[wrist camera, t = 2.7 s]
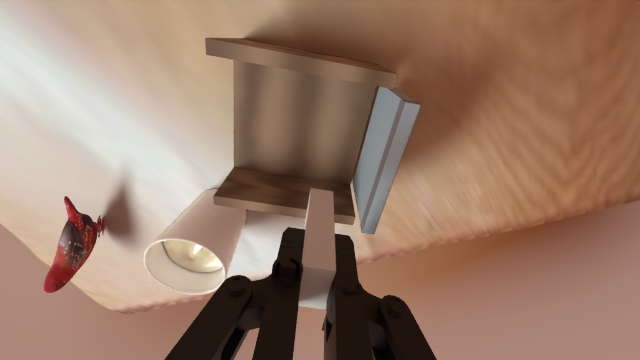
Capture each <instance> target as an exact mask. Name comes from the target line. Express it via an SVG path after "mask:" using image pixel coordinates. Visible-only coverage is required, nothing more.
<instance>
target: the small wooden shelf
mask: <svg viewBox="0 0 640 360" xmlns="http://www.w3.org/2000/svg"><path fill="white" fill-rule="evenodd" d="M205 41H206V55H211V56H217V57H222V58H228V59H233V60H234V168H233V169H232V171H231V172H230V173H229V175H228V176H227V178H226V179H225V180H224V182H223V183H222V184H221V186H220V187H219V189H218V190H217V191H216V193H215V194H214V196H213V200H214V205H219V206H226V207H233V208H239V209H246V210H253V211H260V212H267V213H274V214H280V215H287V216H294V217H301V218H306V213H307V207H308V202H309V196H310V190H311V188H314V189H320V190H327V191H333V201H334V222H335V223H342V224H348V225H353V223H354V220H355V212H354V206H353V200H352V194H351V188H350V184H351V180H352V176H353V173H354V169H355V165H356V161H357V158H358V154H359V150H360V147H361V143H362V139H363V135H364V132H365V128H366V124H367V120H368V117H369V113H370V109H371V105H372V102H373V98H374V94H375V90H376V87H377V86H379V87H384V88H389V89H394V87H395V84H396V81H397V77H398V74H396V73H394V72H392V71H390V70H388V69H386V68H384V67H381V66H379V65H377V64H373V63H367V62H362V61H357V60H352V59H347V58H341V57H336V56H331V55H326V54H320V53H315V52H310V51H305V50H300V49H294V48H289V47H284V46H279V45H273V44H268V43H263V42H258V41H253V40H247V39H242V38H205Z"/></svg>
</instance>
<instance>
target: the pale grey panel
mask: <svg viewBox="0 0 640 360" xmlns="http://www.w3.org/2000/svg"><path fill="white" fill-rule="evenodd" d="M420 107H421V105H420V104H419V103H417V102H415V101H414V100H412V99H411V98H410V97H408V96H407V95H405V94H404V93H402V92H401V91H399V90H398V89H396V88H395V87H394V89H389V88H384V87H379V89H378V93H377V97H376V100H375V104H374V108H373V111H372V115H371V119H370V122H369V126H368V130H367V133H366V137H365V141H364V144H363V148H362V152H361V155H360V159H359V163H358V166H357V170H356V174H355V177H354V181H353V187H354V192H355V197H356V203H357V208H358V213H359V218H360V226H361V231H362V233H368V234H374V233H375V230H376V228H377V225H378V222H379V219H380V217H381V214H382V211H383V208H384V206H385V203H386V200H387V198H388V195H389V192H390V189H391V187H392V184H393V181H394V178H395V176H396V173H397V170H398V167H399V165H400V162H401V159H402V156H403V154H404V151H405V148H406V145H407V143H408V140H409V137H410V134H411V132H412V129H413V126H414V123H415V121H416V118H417V115H418V112H419V110H420Z"/></svg>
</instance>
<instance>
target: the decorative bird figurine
mask: <svg viewBox="0 0 640 360" xmlns="http://www.w3.org/2000/svg"><path fill="white" fill-rule="evenodd" d="M64 200H65V205H66V209H67V213H68V217H69V219H68V221H67V222H66V224H65V227H64V229H63V231H62V234H61V237H60V239H59V243H58V247H57V252H56V256H55V259H54V262H53V265H52V267H51V269H50V271H49V273H48V274H47V276H46V279H45V283H44V290H45V291H46V292H47V293H52V292H55V291H57V290H59V289H61V288H62V287H63V286H64V285H65V284H66V283H67V282H68V281H69V280H70V279H71V278H72V277H73V276H74V274H75V273H76V272H77V271H78V270H79V269H80V268H81V266H82V265H83V264H84V263H85V261H86V260H87V259H88V257H89V255H90V254H91V252H92V250H93V248H94V245H95V243H96V239H97V232H98V233H99V235H98V237H100V232H101V231H102V224H101V219H100V216H99V218H98V221H97V222H98V223H96V222H93V221H92V219H91V217H90V216H88V215H86V214H82V213H79V212H78V211H77V210H76V208H75V206H74V205H73V204H72V202H71V201H70V199H69V198H68V197H67V196H65V198H64ZM99 220H100V221H99Z"/></svg>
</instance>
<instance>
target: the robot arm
mask: <svg viewBox="0 0 640 360" xmlns="http://www.w3.org/2000/svg"><path fill="white" fill-rule="evenodd" d="M326 304H327V309H326V311H327V313H326V316H325V319H324V323H323V326H322V330H323V331H324V360H437V359H436V357H435V356H434V354H433V352H432V350H431V348H430V346H429V345H428V343H427V341H426V339H425V337H424V335H423V333H422V331H421V330H420V328H419V326H418V324H417V322H416V320H415V318H414V316H413V315H412V313H411V311H410V309H409V307H408V306H407V304H406V303H405V302H404V301H402V300H401V299H400V298H398V297H396V296H392V295H387V296H384V297H383V298H382V299H380V298H378V297H376V296H374V295H371V294H370V293H368V292H367V291H365V290H364V289H363V288H362V286H361V284H360V283H359V280H358V275H357V267H356V259H355V251H354V243H353V241H352V240H351V238H350V236H347V235H341V234H335V229H334V201H333V191H327V190H320V189H314V188H311V190H310V196H309V202H308V207H307V213H306V218H305V226H304V229H297V228H290V227H288V228H287V229H286V230H285V231H284V232H283V235H282V240H281V244H280V248H279V252H278V257H277V260H275V262H274V264H273V268H272V274H271V275H269V276H268V277H266V278H264V279H261V280H256V281H251V280H250V279H249V278H247V277H245V276H241V275H236V276H232V277H230V278H227V279H226V280H225V281H224V282H223V283H222V284H221V285H220V287H219V288H218V289H217V291H216V292H215V293H214V295H213V296H212V297H211V299H210V300H209V302H208V303H207V304H206V305H205V307H204V308H203V309H202V311H201V312H200V313H199V315H198V316H197V317H196V319H195V320H194V321H193V323H192V324H191V325H190V327H189V328H188V329H187V331H186V332H185V333H184V335H183V336H182V337H181V338H180V340H179V341H178V343H177V344H176V345H175V346H174V348H173V349H172V350H171V352H170V353H169V354H168V356H167V357H166V359H165V360H233V359H234V358H235V356H236V354H237V352H238V350H239V348H240V346H241V345H242V343H243V341H244V339H245V337H246V335H247V333H248V331H249V330H251V329H255V328H260V329H259V333H258V337H257V341H256V346H255V350H254V354H253V358H252V360H292V359H293V351H294V341H295V332H296V323H297V314H298V313H297V312H298V306H304V307H311V308H319V309H325V307H326Z"/></svg>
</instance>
